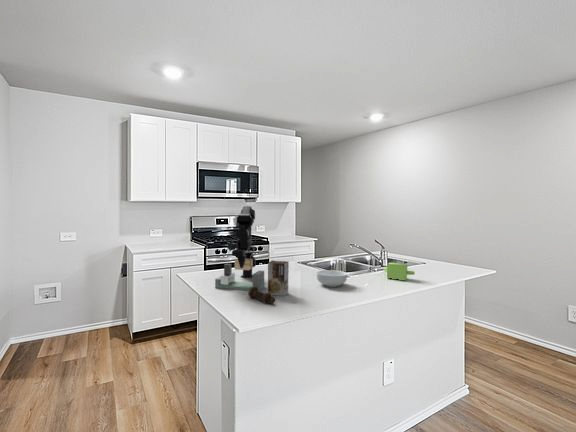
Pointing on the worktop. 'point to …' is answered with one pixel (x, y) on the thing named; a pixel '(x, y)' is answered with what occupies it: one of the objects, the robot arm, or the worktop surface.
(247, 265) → the block
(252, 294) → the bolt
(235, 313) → the worktop surface
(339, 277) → the cereal bowl
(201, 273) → the worktop surface
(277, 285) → the coffee box
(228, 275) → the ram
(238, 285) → the press frame
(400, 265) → the gearbox
